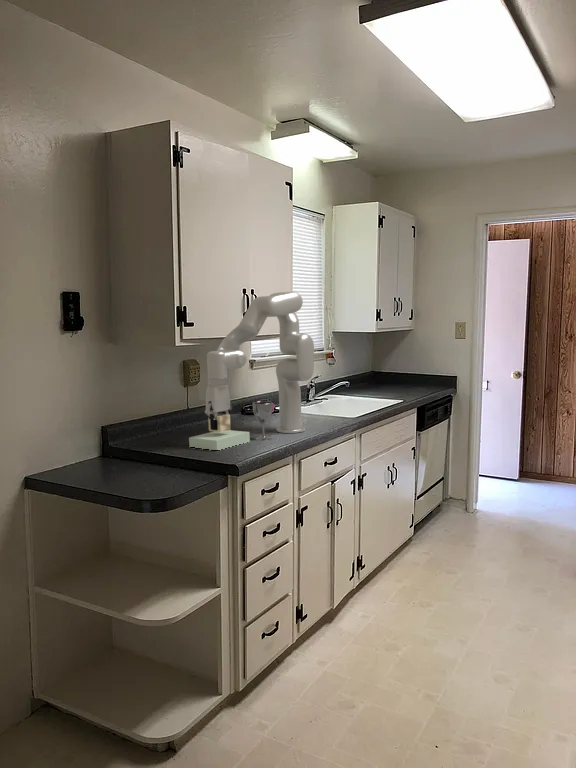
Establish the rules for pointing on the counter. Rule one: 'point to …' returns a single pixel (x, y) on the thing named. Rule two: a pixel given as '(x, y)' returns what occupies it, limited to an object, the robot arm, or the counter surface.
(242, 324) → the robot arm
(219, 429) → the maple cube
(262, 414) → the wine glass
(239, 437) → the sage stand
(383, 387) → the counter surface
